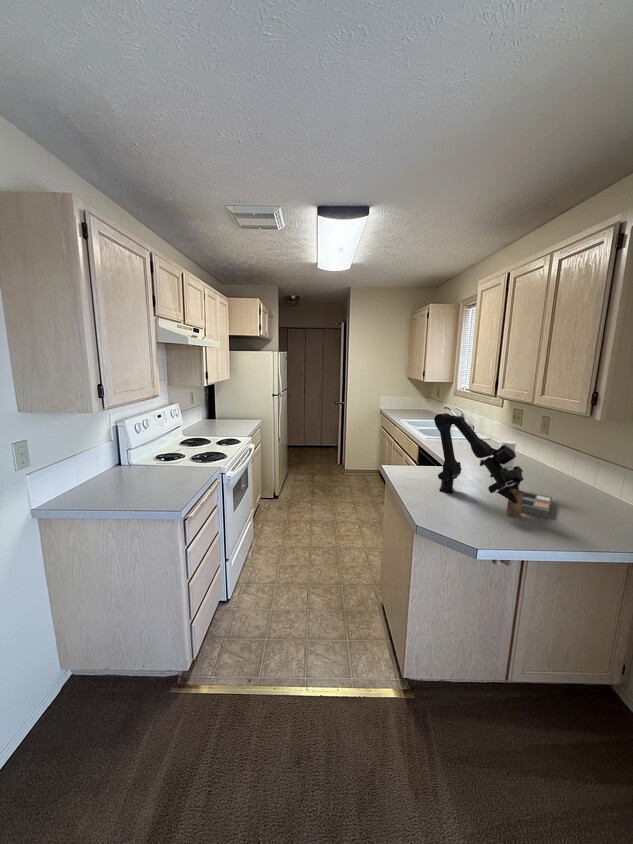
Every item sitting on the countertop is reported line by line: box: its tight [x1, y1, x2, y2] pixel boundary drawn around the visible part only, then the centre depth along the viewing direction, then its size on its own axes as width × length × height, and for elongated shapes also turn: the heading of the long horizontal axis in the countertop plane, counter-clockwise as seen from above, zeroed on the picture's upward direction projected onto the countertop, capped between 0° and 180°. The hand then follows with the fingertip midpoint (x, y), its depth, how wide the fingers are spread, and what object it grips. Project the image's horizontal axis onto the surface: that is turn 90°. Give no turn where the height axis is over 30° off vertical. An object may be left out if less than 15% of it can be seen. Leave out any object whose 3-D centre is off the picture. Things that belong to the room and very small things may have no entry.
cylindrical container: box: [494, 439, 517, 483], centre depth 178 cm, size 7×7×25 cm
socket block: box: [521, 490, 553, 519], centre depth 159 cm, size 14×20×3 cm
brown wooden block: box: [506, 489, 524, 519], centre depth 148 cm, size 4×4×11 cm
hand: (518, 501), depth 147 cm, fingers closed on brown wooden block, 4 cm apart
